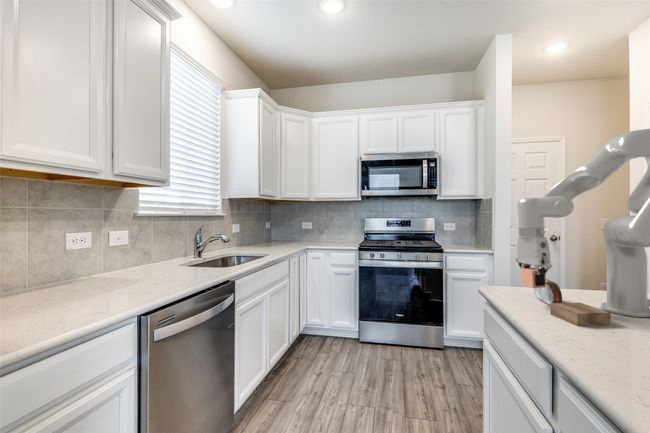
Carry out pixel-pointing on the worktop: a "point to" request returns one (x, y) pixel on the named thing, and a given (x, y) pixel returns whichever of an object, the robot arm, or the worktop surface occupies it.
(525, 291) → the worktop surface
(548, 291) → the tin
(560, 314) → the walnut base
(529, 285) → the salmon pink block
